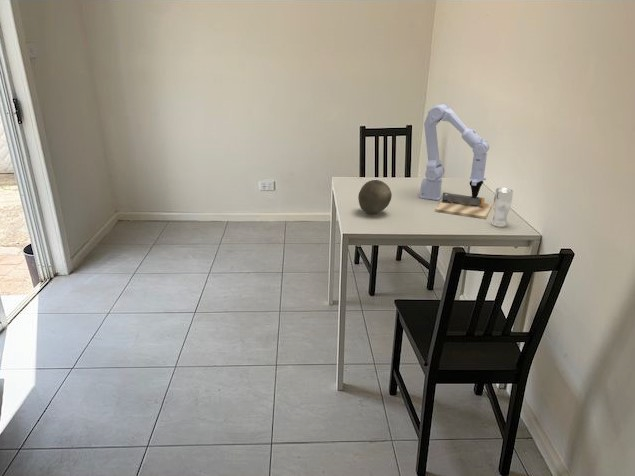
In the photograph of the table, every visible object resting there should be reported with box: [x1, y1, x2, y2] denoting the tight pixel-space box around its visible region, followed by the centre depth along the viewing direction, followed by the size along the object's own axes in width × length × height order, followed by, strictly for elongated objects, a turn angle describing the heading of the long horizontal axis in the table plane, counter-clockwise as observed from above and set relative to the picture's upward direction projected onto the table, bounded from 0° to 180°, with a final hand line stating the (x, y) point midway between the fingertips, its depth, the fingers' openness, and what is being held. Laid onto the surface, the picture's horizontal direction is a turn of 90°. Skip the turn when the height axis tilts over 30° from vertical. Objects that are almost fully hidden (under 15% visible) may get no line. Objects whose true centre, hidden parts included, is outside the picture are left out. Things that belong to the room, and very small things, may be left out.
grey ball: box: [357, 179, 393, 215], centre depth 208 cm, size 14×14×15 cm
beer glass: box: [491, 187, 514, 228], centre depth 195 cm, size 7×7×15 cm
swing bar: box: [441, 192, 485, 206], centre depth 217 cm, size 19×3×3 cm, turn 64°
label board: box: [434, 199, 493, 220], centre depth 215 cm, size 22×18×2 cm
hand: (474, 196), depth 220 cm, fingers closed
